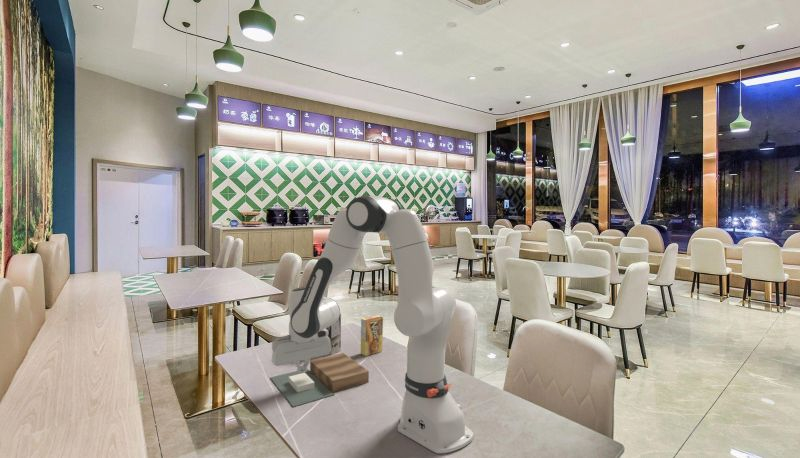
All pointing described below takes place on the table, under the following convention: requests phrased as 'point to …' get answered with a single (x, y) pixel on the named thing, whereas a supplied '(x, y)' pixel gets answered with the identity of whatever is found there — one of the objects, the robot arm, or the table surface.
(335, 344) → the coffee box
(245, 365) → the table surface
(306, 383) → the white box
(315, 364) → the block
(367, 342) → the candy box
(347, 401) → the table surface
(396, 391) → the table surface
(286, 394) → the mat
